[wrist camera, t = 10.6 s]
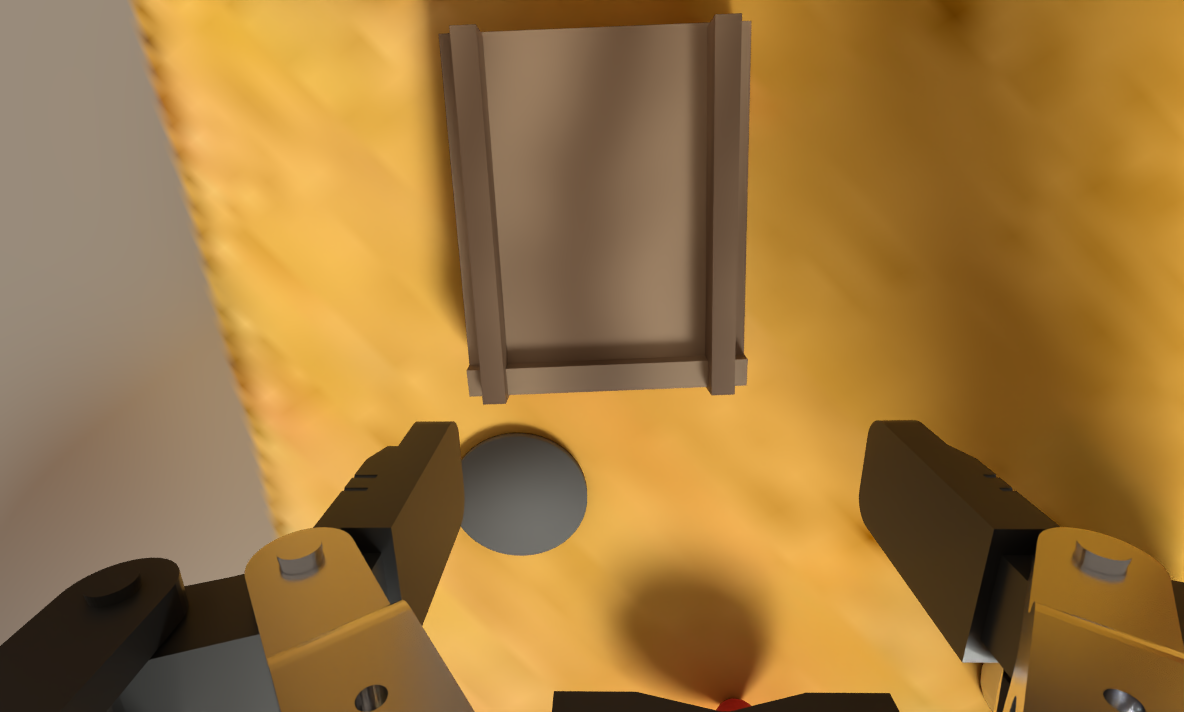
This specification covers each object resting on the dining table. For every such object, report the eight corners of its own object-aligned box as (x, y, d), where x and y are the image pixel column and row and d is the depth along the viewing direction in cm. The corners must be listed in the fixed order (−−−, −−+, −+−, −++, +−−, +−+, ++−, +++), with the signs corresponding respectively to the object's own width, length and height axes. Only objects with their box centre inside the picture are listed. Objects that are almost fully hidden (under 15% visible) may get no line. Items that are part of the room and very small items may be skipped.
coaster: (584, 430, 25) (584, 434, 25) (589, 547, 27) (589, 552, 27) (444, 435, 25) (442, 439, 25) (460, 552, 27) (458, 558, 27)
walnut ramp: (738, 30, 20) (772, 4, 17) (726, 359, 24) (751, 396, 21) (449, 42, 21) (420, 18, 17) (484, 369, 24) (466, 407, 21)
